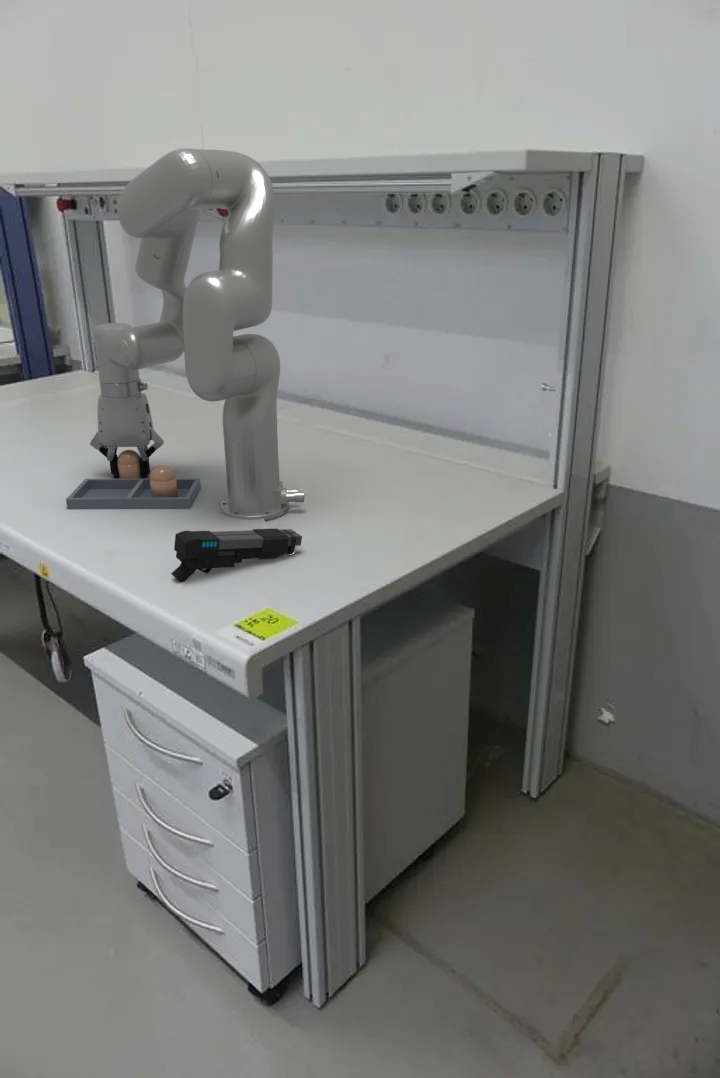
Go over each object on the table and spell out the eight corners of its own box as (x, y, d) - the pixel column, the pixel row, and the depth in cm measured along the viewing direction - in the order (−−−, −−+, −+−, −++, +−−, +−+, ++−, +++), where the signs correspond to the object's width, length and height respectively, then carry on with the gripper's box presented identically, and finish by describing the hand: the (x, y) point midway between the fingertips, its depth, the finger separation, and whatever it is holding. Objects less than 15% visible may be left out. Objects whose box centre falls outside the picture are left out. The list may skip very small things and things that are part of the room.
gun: (164, 575, 123) (180, 513, 121) (275, 584, 135) (291, 528, 133) (175, 586, 119) (191, 522, 117) (288, 594, 131) (304, 537, 129)
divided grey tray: (201, 490, 159) (200, 478, 158) (190, 511, 148) (188, 498, 147) (87, 490, 158) (85, 478, 157) (67, 512, 148) (65, 499, 147)
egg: (146, 476, 166) (143, 446, 164) (140, 484, 162) (137, 453, 159) (122, 476, 166) (119, 446, 164) (116, 484, 162) (112, 453, 159)
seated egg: (180, 493, 155) (177, 461, 153) (175, 502, 151) (171, 469, 148) (155, 493, 155) (151, 461, 153) (149, 502, 151) (145, 469, 148)
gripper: (168, 384, 160) (176, 471, 167) (83, 384, 160) (95, 472, 167) (160, 393, 153) (169, 483, 161) (70, 393, 153) (83, 484, 160)
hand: (131, 476), depth 164 cm, fingers closed on egg, 4 cm apart
